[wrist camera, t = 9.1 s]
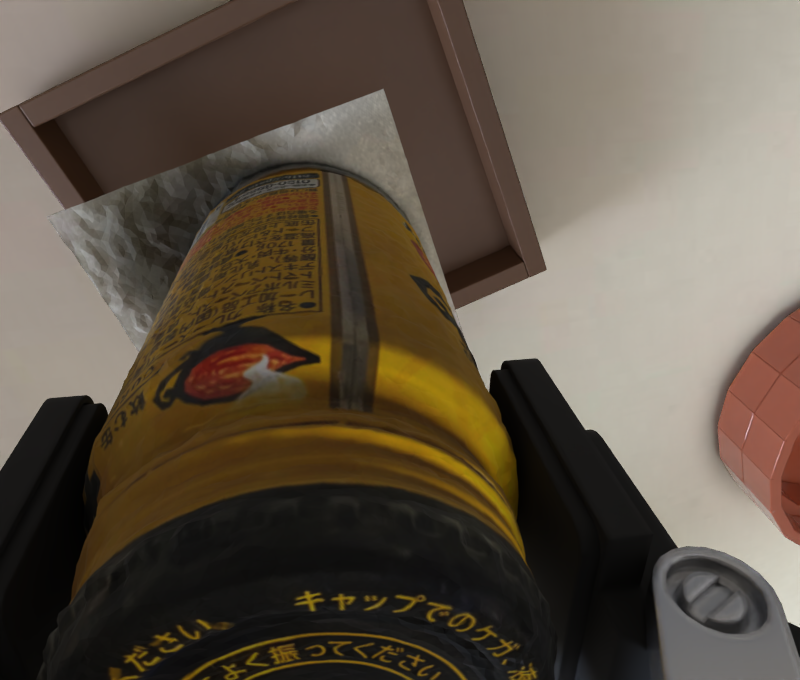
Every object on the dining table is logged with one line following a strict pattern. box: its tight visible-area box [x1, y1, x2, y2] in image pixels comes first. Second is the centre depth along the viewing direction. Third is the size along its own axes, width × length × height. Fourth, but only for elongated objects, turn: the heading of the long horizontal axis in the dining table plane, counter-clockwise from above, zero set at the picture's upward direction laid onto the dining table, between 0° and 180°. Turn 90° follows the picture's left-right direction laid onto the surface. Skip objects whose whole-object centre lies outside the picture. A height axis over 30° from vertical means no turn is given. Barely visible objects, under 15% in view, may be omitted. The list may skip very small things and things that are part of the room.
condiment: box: [36, 89, 558, 680], centre depth 11 cm, size 7×8×12 cm
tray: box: [0, 0, 546, 309], centre depth 24 cm, size 16×14×2 cm
